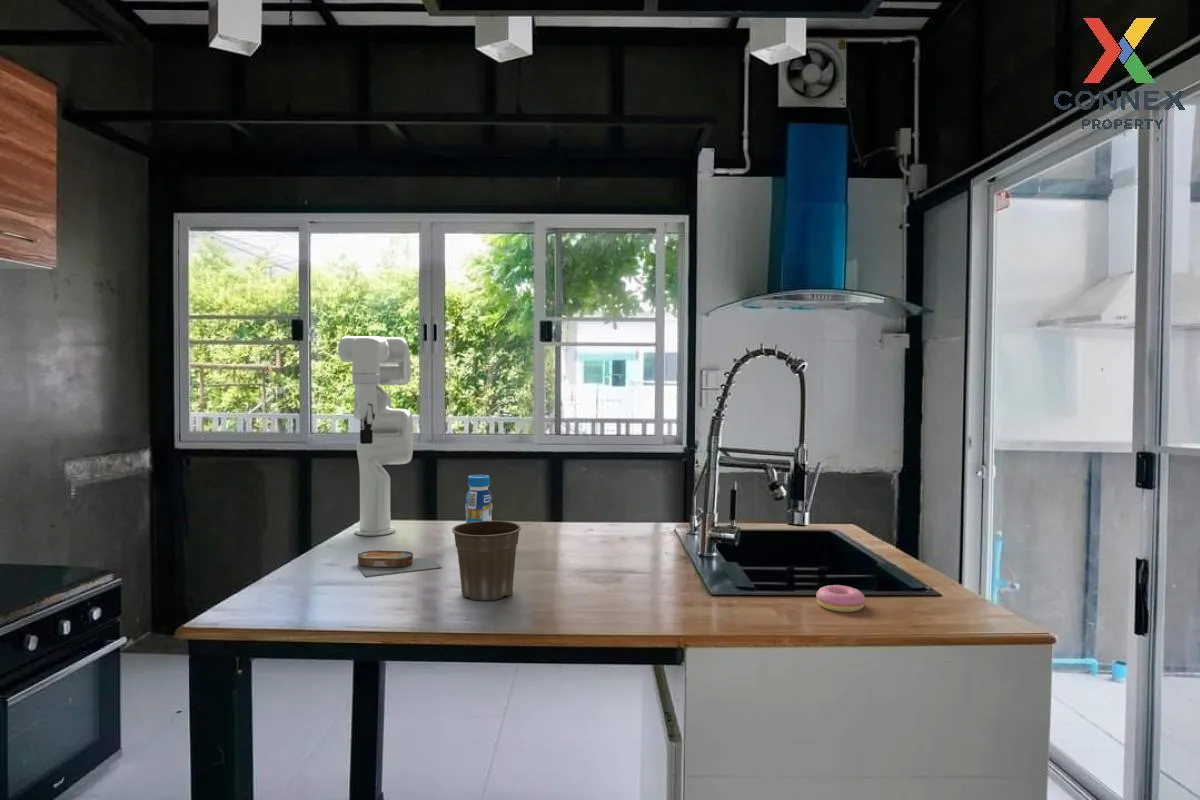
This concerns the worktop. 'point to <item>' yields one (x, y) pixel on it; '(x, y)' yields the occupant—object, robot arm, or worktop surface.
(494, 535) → the plant pot
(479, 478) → the beverage bottle
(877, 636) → the worktop surface
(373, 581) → the worktop surface
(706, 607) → the worktop surface
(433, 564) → the mat
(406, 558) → the tin
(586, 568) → the worktop surface
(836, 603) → the doughnut
